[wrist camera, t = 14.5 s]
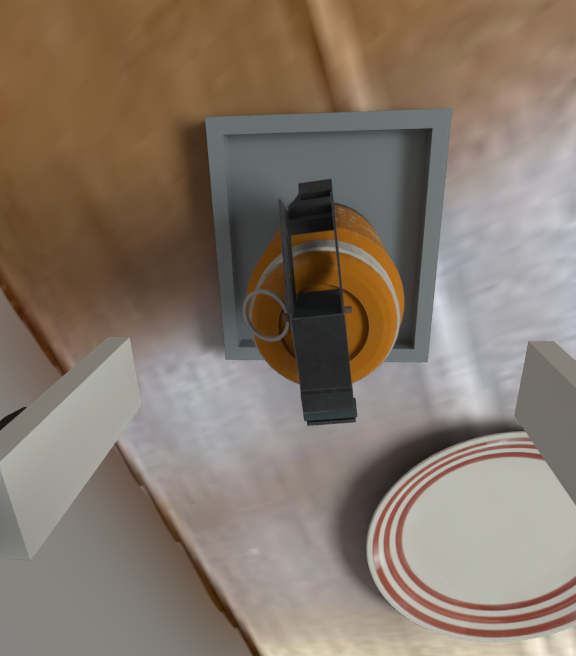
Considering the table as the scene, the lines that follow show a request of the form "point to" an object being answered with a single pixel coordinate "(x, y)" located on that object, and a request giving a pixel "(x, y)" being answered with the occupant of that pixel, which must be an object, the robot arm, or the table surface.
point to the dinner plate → (478, 543)
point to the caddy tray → (348, 189)
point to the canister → (324, 302)
